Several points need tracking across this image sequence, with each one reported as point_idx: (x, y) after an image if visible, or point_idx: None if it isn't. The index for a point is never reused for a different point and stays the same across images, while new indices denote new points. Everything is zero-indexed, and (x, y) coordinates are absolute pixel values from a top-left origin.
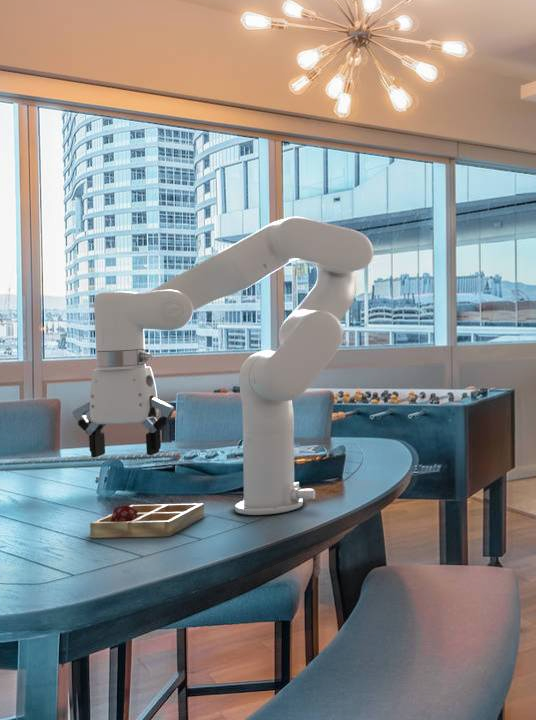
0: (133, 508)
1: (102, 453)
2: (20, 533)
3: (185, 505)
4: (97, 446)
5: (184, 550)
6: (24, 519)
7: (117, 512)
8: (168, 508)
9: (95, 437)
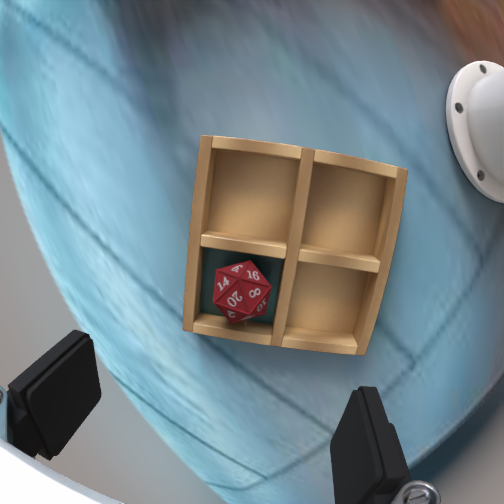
0: (256, 282)
1: (92, 358)
2: (48, 241)
3: (363, 171)
4: (78, 412)
5: (391, 416)
6: (16, 132)
7: (229, 316)
8: (313, 162)
9: (58, 450)
